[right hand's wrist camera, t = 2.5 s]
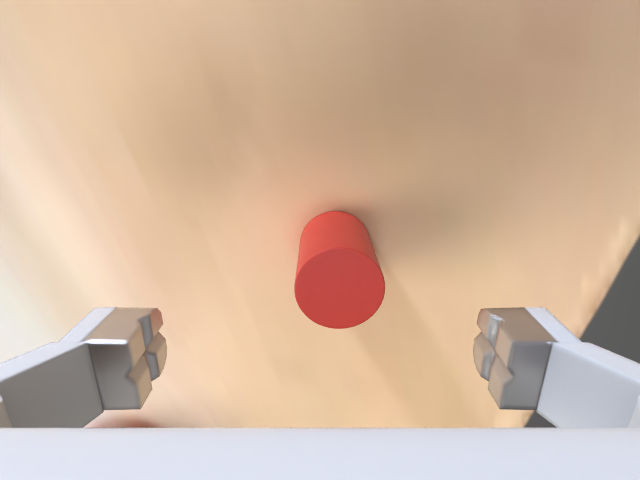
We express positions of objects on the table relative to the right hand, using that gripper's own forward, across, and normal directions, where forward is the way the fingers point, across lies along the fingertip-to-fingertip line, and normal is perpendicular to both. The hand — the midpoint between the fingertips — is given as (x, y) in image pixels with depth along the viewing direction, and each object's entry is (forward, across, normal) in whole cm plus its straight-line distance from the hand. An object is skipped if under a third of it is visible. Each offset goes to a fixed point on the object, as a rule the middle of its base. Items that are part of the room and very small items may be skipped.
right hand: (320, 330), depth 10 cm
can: (+20, +1, -5) cm, 21 cm away
